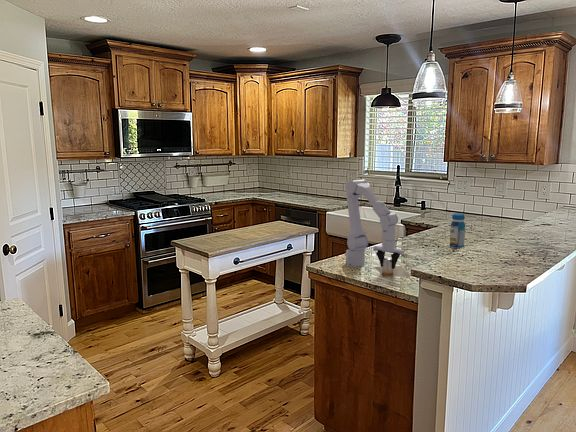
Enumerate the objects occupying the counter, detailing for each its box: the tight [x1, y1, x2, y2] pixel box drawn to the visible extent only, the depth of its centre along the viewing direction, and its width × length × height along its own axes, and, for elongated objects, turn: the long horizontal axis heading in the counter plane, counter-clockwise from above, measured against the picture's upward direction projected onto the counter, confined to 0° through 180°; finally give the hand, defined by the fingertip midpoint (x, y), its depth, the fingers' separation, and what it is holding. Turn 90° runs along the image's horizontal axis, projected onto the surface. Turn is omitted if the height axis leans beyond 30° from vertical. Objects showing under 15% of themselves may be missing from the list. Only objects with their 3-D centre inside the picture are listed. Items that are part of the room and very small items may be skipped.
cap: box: [382, 257, 394, 271], centre depth 211 cm, size 5×5×5 cm
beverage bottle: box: [449, 212, 466, 249], centre depth 263 cm, size 8×8×20 cm
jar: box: [382, 269, 394, 275], centre depth 211 cm, size 5×5×5 cm
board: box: [374, 265, 412, 278], centre depth 215 cm, size 13×17×1 cm
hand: (387, 267), depth 211 cm, fingers closed on cap, 5 cm apart
